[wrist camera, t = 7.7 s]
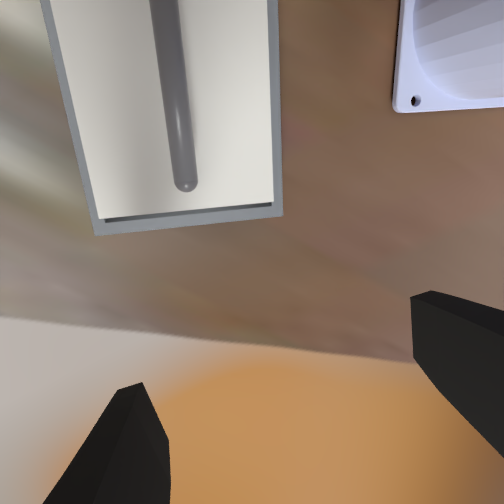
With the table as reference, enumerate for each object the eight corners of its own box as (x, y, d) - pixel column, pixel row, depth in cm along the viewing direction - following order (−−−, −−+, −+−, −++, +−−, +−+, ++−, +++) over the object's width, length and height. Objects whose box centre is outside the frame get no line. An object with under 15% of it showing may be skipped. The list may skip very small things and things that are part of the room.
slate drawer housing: (263, -42, 13) (276, -68, 12) (271, 206, 17) (283, 216, 15) (46, -45, 12) (22, -75, 10) (105, 223, 16) (94, 236, 14)
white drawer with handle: (229, -8, 13) (279, -144, 7) (241, 174, 16) (285, 211, 9) (94, -8, 12) (-9, -164, 6) (129, 184, 15) (87, 232, 8)
